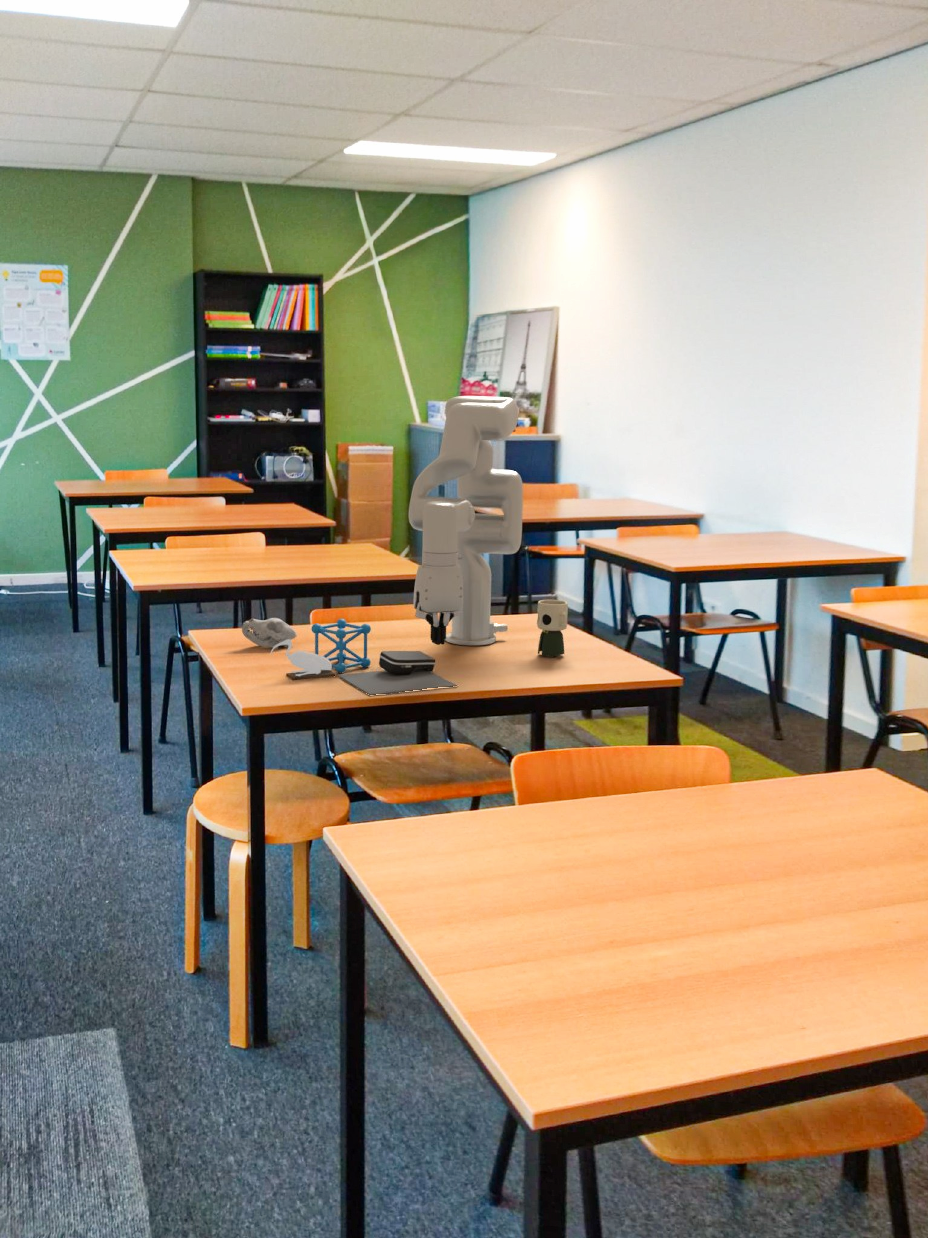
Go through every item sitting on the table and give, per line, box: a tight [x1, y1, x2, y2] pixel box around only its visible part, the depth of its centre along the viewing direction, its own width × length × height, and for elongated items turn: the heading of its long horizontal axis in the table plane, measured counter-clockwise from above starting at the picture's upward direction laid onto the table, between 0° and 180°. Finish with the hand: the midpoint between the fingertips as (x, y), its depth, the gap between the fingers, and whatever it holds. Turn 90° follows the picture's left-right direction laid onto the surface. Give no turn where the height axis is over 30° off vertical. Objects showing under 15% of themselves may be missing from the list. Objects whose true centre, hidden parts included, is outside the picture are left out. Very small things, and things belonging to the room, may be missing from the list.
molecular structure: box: [310, 618, 372, 674], centre depth 279 cm, size 10×10×10 cm
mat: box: [337, 667, 458, 696], centre depth 268 cm, size 20×18×1 cm
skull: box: [241, 617, 298, 650], centre depth 298 cm, size 8×9×12 cm
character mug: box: [536, 599, 569, 658], centre depth 295 cm, size 11×7×13 cm, turn 32°
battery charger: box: [378, 650, 436, 675], centre depth 275 cm, size 7×4×11 cm
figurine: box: [270, 640, 336, 682], centre depth 270 cm, size 14×4×9 cm, turn 116°
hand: (438, 643), depth 271 cm, fingers closed
